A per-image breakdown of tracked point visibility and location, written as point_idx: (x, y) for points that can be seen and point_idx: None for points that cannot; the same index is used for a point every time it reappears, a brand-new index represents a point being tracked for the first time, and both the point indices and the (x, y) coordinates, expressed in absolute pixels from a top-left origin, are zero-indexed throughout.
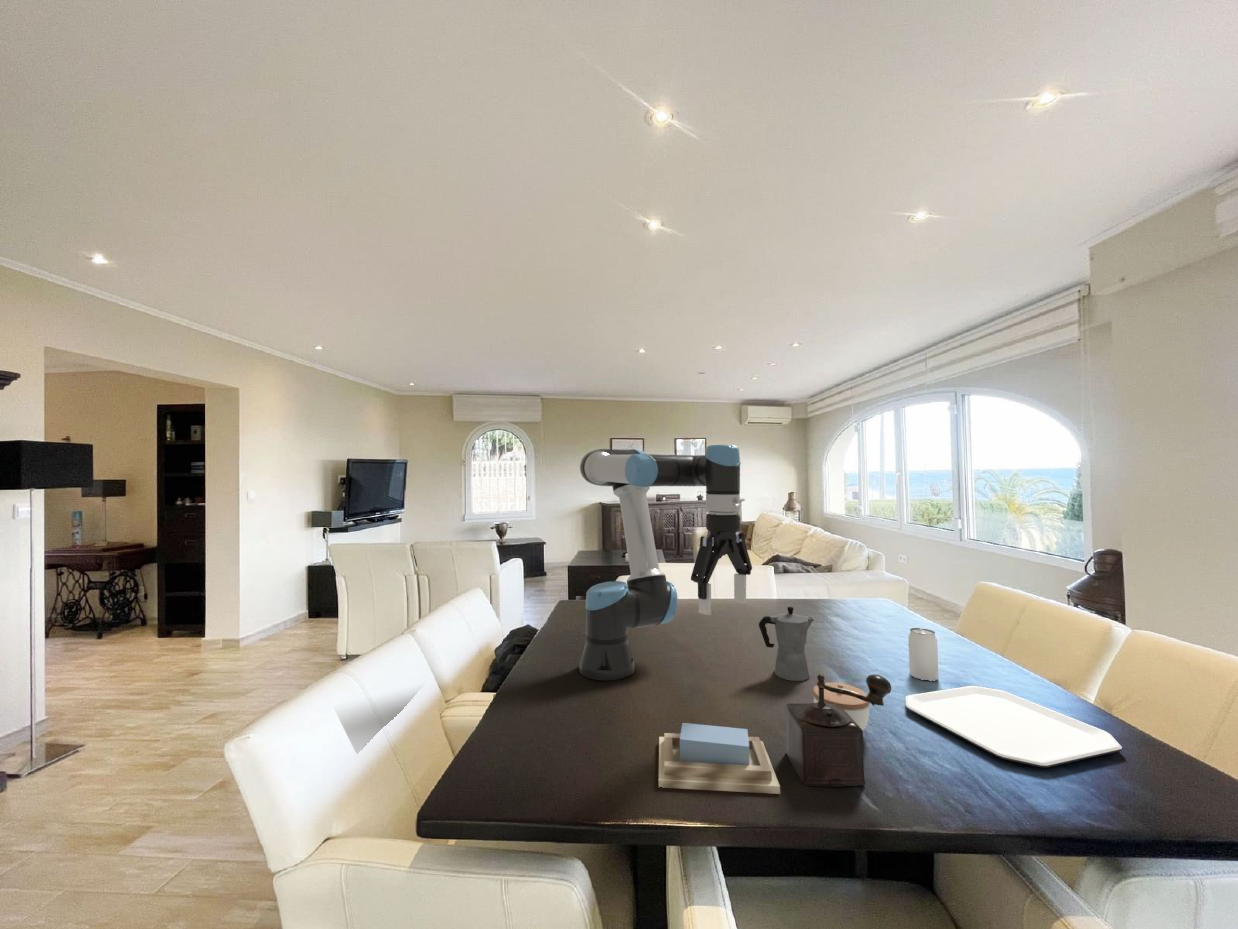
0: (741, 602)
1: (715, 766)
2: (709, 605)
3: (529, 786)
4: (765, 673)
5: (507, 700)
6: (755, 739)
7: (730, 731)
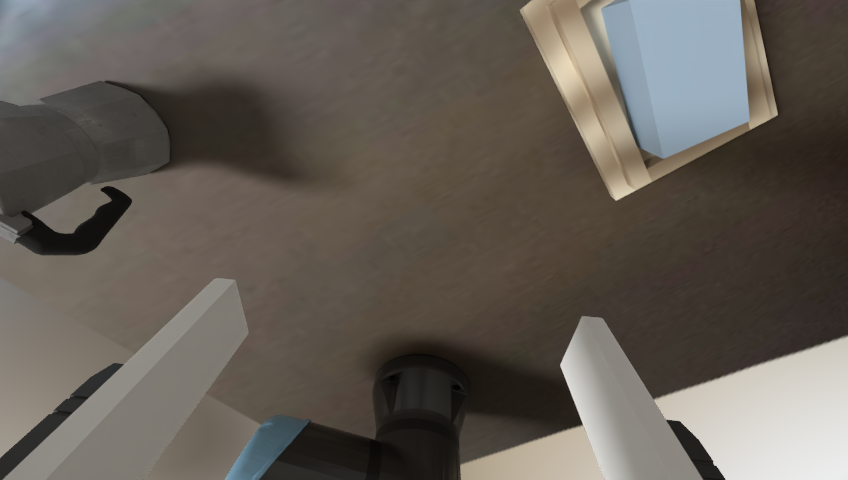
0: (237, 298)
1: None
2: (624, 363)
3: (817, 268)
4: (183, 182)
5: None
6: (568, 4)
7: (662, 35)
